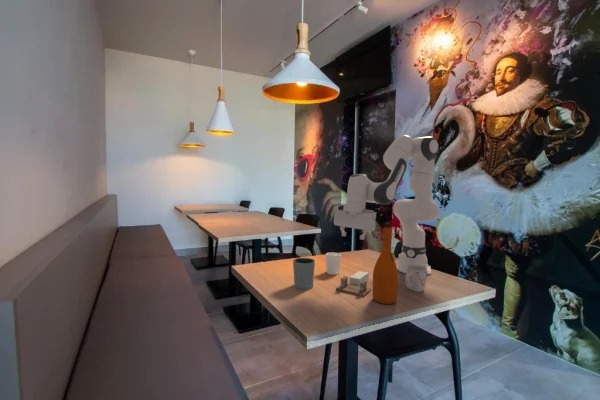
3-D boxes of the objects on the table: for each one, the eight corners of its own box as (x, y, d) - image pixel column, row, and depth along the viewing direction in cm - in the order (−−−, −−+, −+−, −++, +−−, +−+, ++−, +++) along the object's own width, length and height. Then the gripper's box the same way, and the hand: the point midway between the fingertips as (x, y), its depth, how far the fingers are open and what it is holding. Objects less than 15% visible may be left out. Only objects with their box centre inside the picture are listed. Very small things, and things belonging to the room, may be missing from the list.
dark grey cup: (304, 291, 131) (304, 264, 130) (287, 286, 138) (288, 260, 137) (319, 286, 139) (319, 260, 138) (302, 280, 145) (303, 256, 145)
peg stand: (343, 285, 140) (343, 274, 140) (370, 291, 133) (371, 280, 133) (336, 290, 134) (336, 279, 133) (364, 296, 127) (364, 285, 126)
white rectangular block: (359, 278, 151) (359, 270, 151) (368, 280, 148) (368, 272, 148) (349, 285, 141) (349, 277, 141) (359, 287, 138) (359, 279, 138)
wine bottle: (382, 306, 117) (385, 230, 115) (367, 297, 126) (369, 226, 124) (402, 303, 121) (405, 228, 119) (386, 294, 130) (388, 225, 128)
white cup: (339, 275, 154) (340, 256, 154) (324, 274, 156) (325, 255, 155) (341, 271, 162) (341, 252, 161) (326, 270, 164) (326, 251, 163)
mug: (413, 295, 129) (414, 272, 129) (397, 289, 137) (398, 267, 136) (430, 290, 136) (431, 268, 135) (414, 284, 143) (415, 264, 142)
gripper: (379, 210, 137) (376, 240, 138) (339, 206, 150) (337, 234, 150) (373, 210, 132) (370, 242, 133) (333, 206, 145) (330, 234, 145)
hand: (352, 237), depth 141 cm, fingers open, 8 cm apart
